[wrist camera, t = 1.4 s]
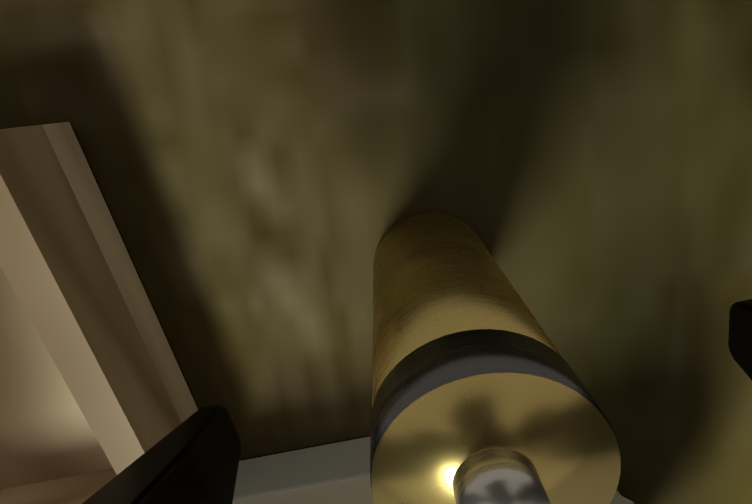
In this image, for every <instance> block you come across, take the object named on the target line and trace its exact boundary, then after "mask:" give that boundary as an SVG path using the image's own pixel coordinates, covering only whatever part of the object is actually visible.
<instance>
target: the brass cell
mask: <svg viewBox="0 0 752 504" xmlns="http://www.w3.org/2000/svg"><path fill="white" fill-rule="evenodd" d="M620 473H621V458H620V451H619V446H618V443H617V440H616V437H615V435H614V432H613V429H612V427H611V426H610V424H609V422H608V420H607V418H606V417H605V415H604V414H603V412H602V411H601V409H600V408H599V407H598V405H597V404H596V402H595V401H594V400H593V398H592V397H591V395H590V394H589V392H588V391H587V390H586V388H585V387H584V385H583V384H582V382H581V381H580V380H579V378H578V377H577V375H576V374H575V372H574V371H573V370H572V368H571V367H570V366H569V365H568V363H567V362H566V361H565V360H564V359H563V358H562V356H561V355H560V353H559V352H558V350H557V349H556V348H555V346H554V345H553V343H552V342H551V340H550V339H549V338H548V336H547V335H546V333H545V332H544V330H543V329H542V328H541V326H540V325H539V323H538V322H537V320H536V319H535V317H534V316H533V315H532V313H531V312H530V310H529V309H528V307H527V306H526V305H525V303H524V302H523V300H522V299H521V297H520V296H519V294H518V293H517V292H516V290H515V289H514V287H513V286H512V284H511V283H510V282H509V280H508V279H507V277H506V276H505V274H504V273H503V271H502V270H501V269H500V267H499V266H498V264H497V263H496V261H495V260H494V259H493V257H492V256H491V254H490V253H489V251H488V250H487V248H486V247H485V246H484V244H483V243H482V241H481V240H480V238H479V237H478V236H477V234H476V233H475V232H474V230H473V229H472V228H471V227H470V226H469V225H467V224H466V223H465V222H463V221H462V220H460V219H458V218H456V217H454V216H451V215H448V214H444V213H436V212H426V213H420V214H416V215H412V216H410V217H407V218H405V219H403V220H401V221H400V222H398V223H397V224H395V225H394V226H393V227H392V228H391V229H390V230H389V231H388V232H387V233H386V234H385V235H384V237H383V238H382V239H381V241H380V243H379V245H378V247H377V250H376V253H375V257H374V266H373V368H372V413H371V433H370V485H371V490H372V494H373V498H374V503H375V504H610V503H611V501H612V499H613V497H614V495H615V492H616V489H617V487H618V483H619V478H620Z"/></svg>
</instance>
